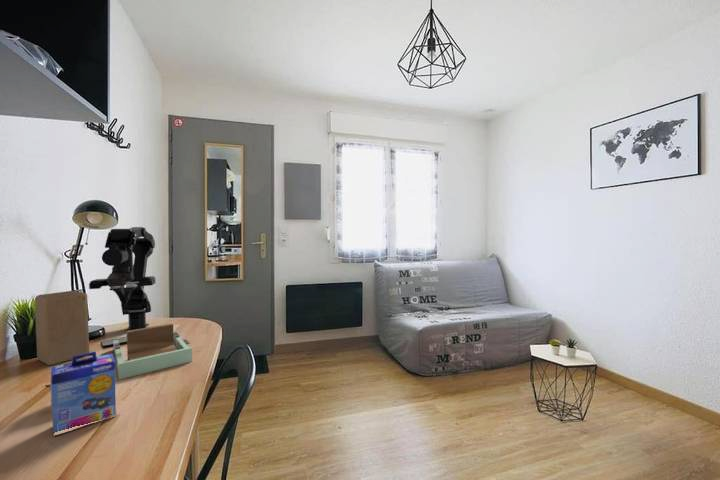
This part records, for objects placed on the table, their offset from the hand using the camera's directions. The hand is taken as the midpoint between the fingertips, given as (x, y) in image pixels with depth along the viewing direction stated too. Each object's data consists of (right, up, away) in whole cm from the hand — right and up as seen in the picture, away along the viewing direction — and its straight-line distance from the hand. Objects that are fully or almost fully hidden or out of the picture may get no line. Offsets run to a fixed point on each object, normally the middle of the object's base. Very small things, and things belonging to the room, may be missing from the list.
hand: (124, 306), depth 116 cm
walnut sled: (+23, -13, -20) cm, 33 cm away
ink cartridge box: (+29, -13, -51) cm, 60 cm away
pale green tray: (+20, -12, -16) cm, 28 cm away
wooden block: (-6, -13, -17) cm, 22 cm away
